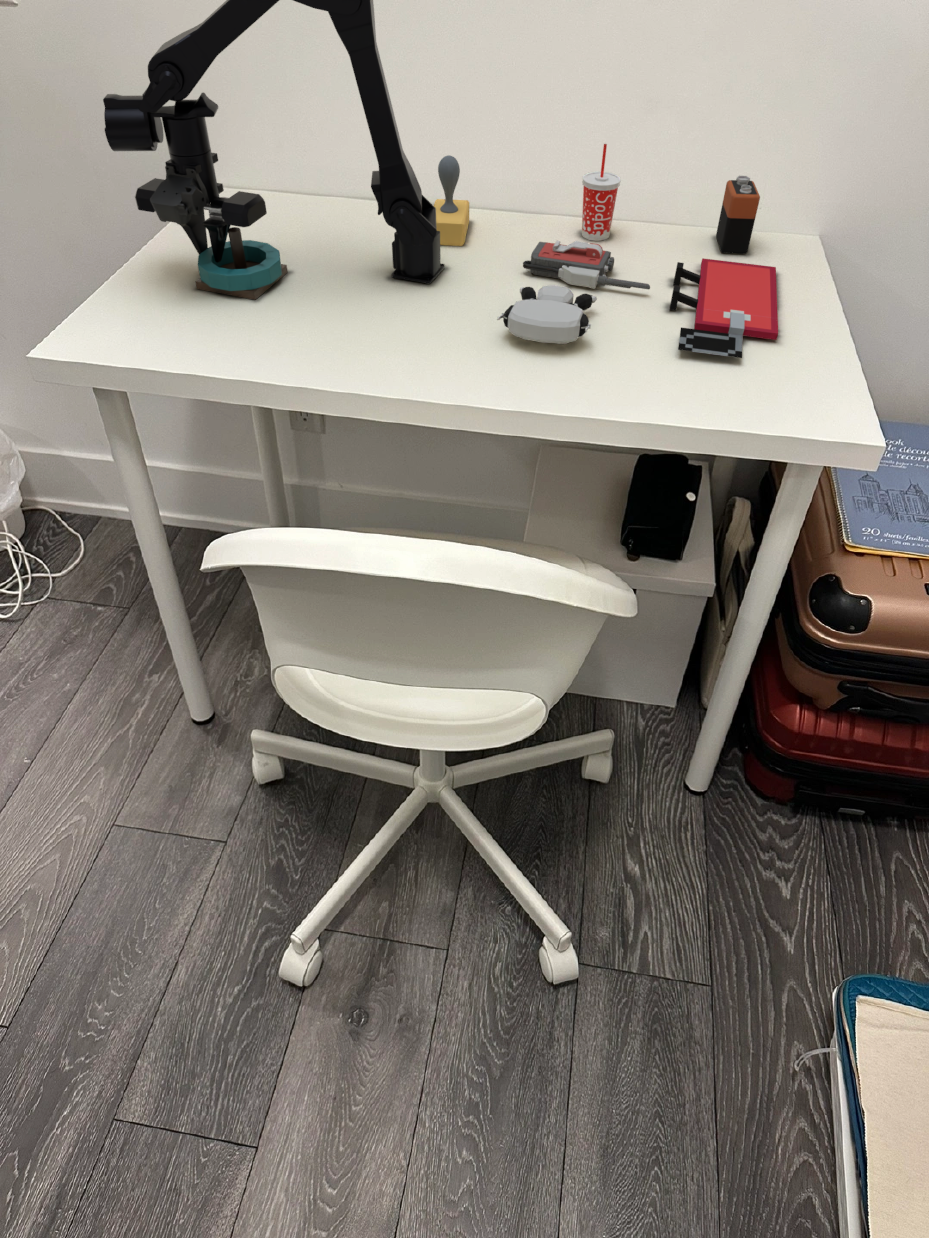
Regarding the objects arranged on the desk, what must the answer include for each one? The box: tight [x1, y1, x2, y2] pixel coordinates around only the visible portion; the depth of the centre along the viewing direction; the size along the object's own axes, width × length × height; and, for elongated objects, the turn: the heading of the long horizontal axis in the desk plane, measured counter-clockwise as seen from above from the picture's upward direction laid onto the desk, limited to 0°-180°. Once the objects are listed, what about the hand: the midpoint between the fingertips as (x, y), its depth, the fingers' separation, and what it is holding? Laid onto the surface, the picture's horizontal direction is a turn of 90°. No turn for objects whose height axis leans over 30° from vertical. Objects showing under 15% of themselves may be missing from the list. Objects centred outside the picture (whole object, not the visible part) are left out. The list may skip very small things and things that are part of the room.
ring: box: [197, 239, 282, 291], centre depth 134 cm, size 12×12×2 cm
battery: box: [715, 175, 761, 255], centre depth 142 cm, size 4×7×10 cm, turn 176°
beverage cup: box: [581, 143, 622, 242], centre depth 144 cm, size 6×6×14 cm
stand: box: [195, 226, 289, 301], centre depth 133 cm, size 10×10×8 cm
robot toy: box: [496, 284, 598, 345], centre depth 124 cm, size 12×4×15 cm
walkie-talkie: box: [522, 240, 651, 290], centre depth 136 cm, size 9×4×20 cm
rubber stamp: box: [433, 154, 470, 247], centre depth 145 cm, size 10×6×12 cm, turn 175°
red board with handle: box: [669, 257, 779, 359], centre depth 129 cm, size 30×3×15 cm
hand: (211, 260), depth 136 cm, fingers closed on ring, 2 cm apart
